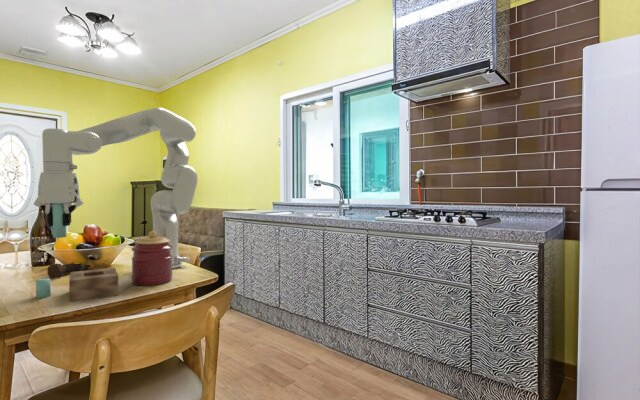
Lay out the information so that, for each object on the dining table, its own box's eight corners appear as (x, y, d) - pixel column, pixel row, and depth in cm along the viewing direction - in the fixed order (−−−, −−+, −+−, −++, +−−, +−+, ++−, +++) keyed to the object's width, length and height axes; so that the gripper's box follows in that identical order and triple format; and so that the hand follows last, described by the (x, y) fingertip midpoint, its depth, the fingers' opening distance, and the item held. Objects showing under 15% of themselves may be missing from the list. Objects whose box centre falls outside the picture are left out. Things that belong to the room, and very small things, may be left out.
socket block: (114, 285, 116) (114, 267, 116) (118, 295, 106) (118, 275, 106) (70, 291, 109) (70, 272, 109) (69, 301, 99) (69, 280, 99)
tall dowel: (68, 236, 114) (67, 202, 114) (63, 237, 111) (62, 203, 110) (56, 236, 113) (55, 202, 113) (50, 237, 110) (49, 203, 110)
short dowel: (52, 294, 106) (52, 278, 105) (46, 297, 102) (46, 280, 102) (39, 295, 105) (39, 278, 105) (33, 298, 101) (33, 281, 101)
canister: (178, 276, 129) (178, 229, 128) (161, 286, 116) (162, 233, 115) (143, 276, 129) (144, 228, 129) (123, 285, 116) (123, 232, 116)
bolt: (89, 273, 139) (54, 282, 124) (79, 266, 140) (44, 274, 125) (96, 261, 139) (62, 268, 124) (86, 254, 139) (51, 260, 125)
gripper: (91, 169, 117) (93, 224, 118) (34, 168, 113) (36, 225, 114) (82, 168, 109) (83, 226, 110) (20, 167, 106) (22, 227, 106)
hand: (59, 225), depth 112 cm, fingers closed on tall dowel, 3 cm apart
